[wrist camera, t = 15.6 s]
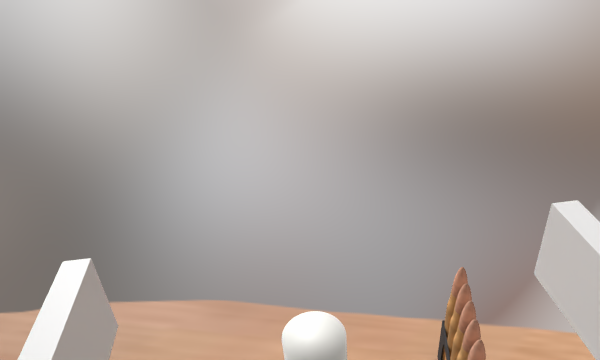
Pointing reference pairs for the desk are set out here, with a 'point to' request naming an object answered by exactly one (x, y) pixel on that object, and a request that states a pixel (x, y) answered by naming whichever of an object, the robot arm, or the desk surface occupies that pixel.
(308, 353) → the cylinder
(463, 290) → the ammunition clip
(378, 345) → the desk surface
